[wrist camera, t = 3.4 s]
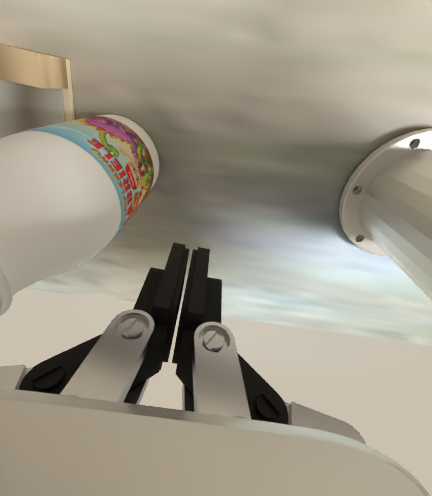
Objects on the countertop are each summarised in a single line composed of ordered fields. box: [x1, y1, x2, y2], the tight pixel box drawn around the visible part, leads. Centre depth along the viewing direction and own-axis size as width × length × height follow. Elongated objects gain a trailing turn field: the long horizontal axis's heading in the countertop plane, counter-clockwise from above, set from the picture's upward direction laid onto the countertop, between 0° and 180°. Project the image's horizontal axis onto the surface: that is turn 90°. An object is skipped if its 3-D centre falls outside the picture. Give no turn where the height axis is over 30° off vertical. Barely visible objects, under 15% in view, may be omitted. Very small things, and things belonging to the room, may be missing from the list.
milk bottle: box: [0, 114, 159, 316], centre depth 16 cm, size 8×8×20 cm
